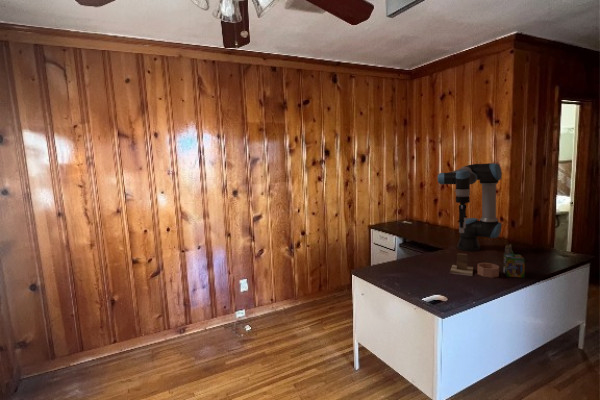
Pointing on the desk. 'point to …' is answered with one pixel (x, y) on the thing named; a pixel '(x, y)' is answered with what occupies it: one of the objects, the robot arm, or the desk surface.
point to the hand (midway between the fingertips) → (462, 230)
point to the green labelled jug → (513, 265)
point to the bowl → (488, 270)
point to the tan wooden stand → (461, 265)
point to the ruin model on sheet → (508, 249)
